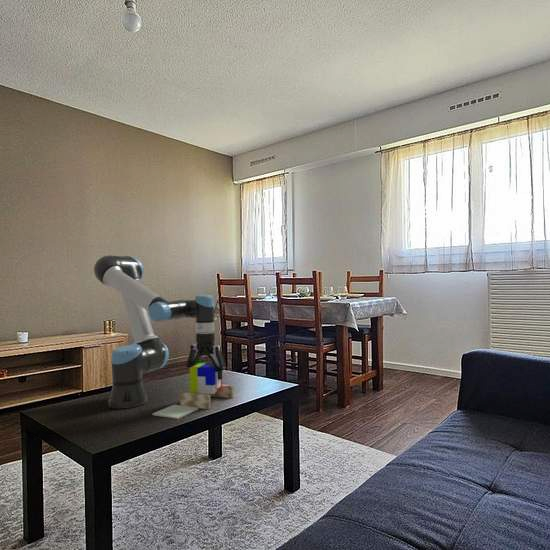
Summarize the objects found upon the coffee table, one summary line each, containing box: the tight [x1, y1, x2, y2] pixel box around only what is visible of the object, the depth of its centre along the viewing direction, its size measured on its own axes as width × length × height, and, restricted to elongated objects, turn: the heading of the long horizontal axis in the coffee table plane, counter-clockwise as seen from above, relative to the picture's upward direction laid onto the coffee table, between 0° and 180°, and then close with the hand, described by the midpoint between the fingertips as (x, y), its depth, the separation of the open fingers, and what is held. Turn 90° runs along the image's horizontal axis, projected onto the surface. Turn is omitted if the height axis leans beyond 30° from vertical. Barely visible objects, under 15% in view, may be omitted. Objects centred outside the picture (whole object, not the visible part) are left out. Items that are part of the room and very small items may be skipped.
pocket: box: [179, 384, 234, 410], centre depth 170 cm, size 14×17×5 cm
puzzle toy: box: [189, 362, 223, 394], centre depth 171 cm, size 10×10×10 cm
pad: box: [152, 404, 199, 420], centre depth 157 cm, size 12×12×1 cm
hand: (206, 385), depth 171 cm, fingers closed on puzzle toy, 11 cm apart
